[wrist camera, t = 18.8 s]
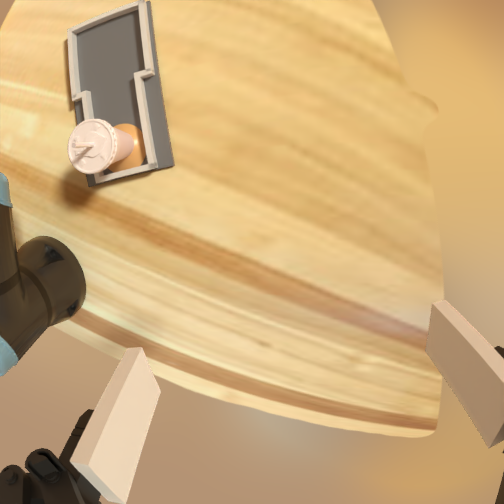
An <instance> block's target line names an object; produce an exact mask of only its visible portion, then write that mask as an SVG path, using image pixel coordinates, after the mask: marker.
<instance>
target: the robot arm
mask: <svg viewBox="0 0 504 504" xmlns="http://www.w3.org/2000/svg"><path fill="white" fill-rule="evenodd" d="M12 208H13V205H12V203H11V201H10V192H9V182H8V179H7V177H6V176H5V175H4V174H3V173H1V172H0V376H3V375H4V374H5V373H7V372H8V370H10V369H11V368H12V367H13V366H14V365H16V364H17V363H18V361H19V360H20V359H21V357H22V356H23V355H24V354H25V352H27V350H28V349H29V348H30V347H31V346H32V344H33V343H34V342H35V341H36V340H37V339H38V338H39V337H40V335H41V334H42V333H43V332H44V331H45V330H46V329H47V327H49V326H52V325H55V324H57V323H60V322H63V321H65V320H68V319H69V318H71V317H72V316H73V315H74V314H75V313H76V312H77V311H78V310H79V309H80V308H81V306H82V305H83V302H84V300H85V295H86V283H85V278H84V274H83V271H82V268H81V266H80V264H79V262H78V260H77V259H76V257H75V256H74V254H73V253H72V252H71V251H70V250H69V249H68V248H67V247H66V246H65V245H64V244H63V243H61V242H60V241H58V240H56V239H54V238H52V237H48V236H39V237H35V238H33V239H31V240H30V241H28V242H26V243H25V244H23V245H22V246H21V247H20V249H19V250H18V252H17V249H16V243H15V235H14V227H13V218H12ZM425 352H426V353H427V354H428V356H429V357H430V359H431V360H432V361H433V363H434V364H435V366H436V367H437V369H438V370H439V371H440V373H441V374H442V376H443V377H444V379H445V380H446V382H447V383H448V385H449V386H450V388H451V389H452V391H453V392H454V394H455V395H456V397H457V398H458V400H459V401H460V403H461V404H462V406H463V407H464V409H465V411H466V412H467V414H468V415H469V417H470V419H471V420H472V422H473V423H474V425H475V427H476V428H477V430H478V431H479V433H480V435H481V436H482V438H483V440H484V441H485V443H486V445H487V446H488V448H490V447H492V446H494V445H496V444H498V443H500V442H501V441H503V440H504V348H502V347H500V346H497V347H495V348H493V347H492V346H491V345H490V344H489V343H488V342H487V341H486V339H485V338H484V337H483V336H482V335H481V334H479V332H478V331H477V330H476V329H475V328H474V327H473V326H472V325H471V324H470V323H469V322H468V321H467V320H466V319H465V318H464V317H463V316H462V315H461V314H460V313H459V312H458V311H457V310H456V309H455V308H453V307H452V306H451V305H450V304H449V303H448V302H447V301H446V300H442V301H438V302H434V303H432V308H431V316H430V324H429V331H428V337H427V343H426V349H425ZM160 392H161V391H160V388H159V386H158V384H157V382H156V380H155V377H154V375H153V372H152V370H151V368H150V365H149V363H148V361H147V358H146V356H145V353H144V351H143V348H142V347H136V348H127V350H126V351H125V353H124V355H123V357H122V359H121V360H120V363H119V364H118V366H117V368H116V370H115V372H114V373H113V375H112V377H111V379H110V381H109V383H108V385H107V387H106V389H105V391H104V393H103V394H102V396H101V398H100V400H99V402H98V404H97V406H96V408H95V410H90V409H88V410H87V411H86V412H85V413H84V414H83V415H82V416H81V417H80V418H79V420H78V422H77V424H76V426H75V429H73V431H72V433H71V436H70V437H69V439H68V441H67V443H66V445H65V447H64V449H63V451H62V453H61V455H60V457H59V459H58V458H57V457H56V456H55V455H54V454H53V453H52V452H51V451H50V450H48V449H44V448H41V449H37V450H35V451H33V452H31V454H30V455H29V456H28V457H27V459H26V461H25V468H26V469H27V470H28V471H29V472H30V473H25V472H24V471H23V470H22V469H21V468H20V467H19V466H17V465H9V466H7V467H6V468H4V469H3V470H2V472H1V473H0V504H101V502H100V501H99V498H100V495H102V496H104V497H105V498H106V499H107V500H108V501H110V502H115V503H121V504H126V502H127V498H128V495H129V491H130V488H131V484H132V481H133V478H134V474H135V471H136V468H137V464H138V461H139V458H140V454H141V451H142V448H143V445H144V442H145V438H146V435H147V432H148V429H149V426H150V422H151V420H152V416H153V413H154V410H155V407H156V404H157V401H158V398H159V395H160ZM503 453H504V451H503ZM495 504H504V473H503V477H502V481H501V485H500V488H499V492H498V495H497V499H496V502H495Z"/></svg>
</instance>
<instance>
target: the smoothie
mask: <svg viewBox="0 0 504 504" xmlns="http://www.w3.org/2000/svg"><path fill="white" fill-rule="evenodd" d="M133 149H134V140H133V138H132V136H131V135H130V134H128V133H126V132H124V131H121V130H119V129H117V128H114V127H112V126H111V125H110V124H109V123H108V122H106V121H104V120H101V119H88V120H85V121H83V122H81V123H80V124H79V125H77V126H76V127H75V129H74V130H73V132H72V133H71V135H70V138H69V142H68V156H69V159H70V161H71V163H72V165H73V166H74V167H75V168H76V169H77V170H78V171H80V172H82V173H85V174H95V173H99V172H101V171H103V170H105V169H106V168H107V167H108V166H109V165H110V164H113V163H115V162H117V161H119V160H121V159H124V158H126V157H128V156H129V155H130V154H131V153H132V151H133Z"/></svg>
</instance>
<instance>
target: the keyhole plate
mask: <svg viewBox="0 0 504 504" xmlns="http://www.w3.org/2000/svg"><path fill="white" fill-rule="evenodd" d="M67 32H68V58H69V73H70V85H71V95H72V101H74V102H75V110H76V118H77V125H79V124H80V123H81V122H83V121H85V120H88V119H101V120H104V121H106V122H108V123H109V124H110V125H111V126H112V127H114V128H117V129H119V130H121V131H124V132H126V133H128V134H130V135H131V136H132V138H133V140H134V149H133V151H132V153H131V154H130V155H129V156H128V157H126V158H124V159H121V160H119V161H117V162H115V163H113V164H110V165H109V166H108V167H107V168H106V169H105V170H103V171H101V172H99V173H95V174H86V177H87V181H88V186H89V187H91V186H94V185H98V184H101V183H105V182H109V181H112V180H116V179H120V178H124V177H128V176H132V175H136V174H140V173H144V172H148V171H152V170H157V169H161V168H165V167H170V166H174V165H175V164H174V159H173V153H172V148H171V142H170V136H169V131H168V125H167V119H166V113H165V107H164V100H163V94H162V87H161V81H160V74H159V67H158V59H157V52H156V44H155V36H154V28H153V19H152V9H151V2H150V1H147V2H145V0H138V1H135V2H132V3H130V4H127V5H124V6H121V7H118V8H116V9H113V10H111V11H108V12H106V13H103V14H101V15H98V16H96V17H93V18H91V19H89V20H87V21H84V22H82V23H80V24H78V25H76V26H74V27H71V28H69V29H67Z"/></svg>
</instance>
